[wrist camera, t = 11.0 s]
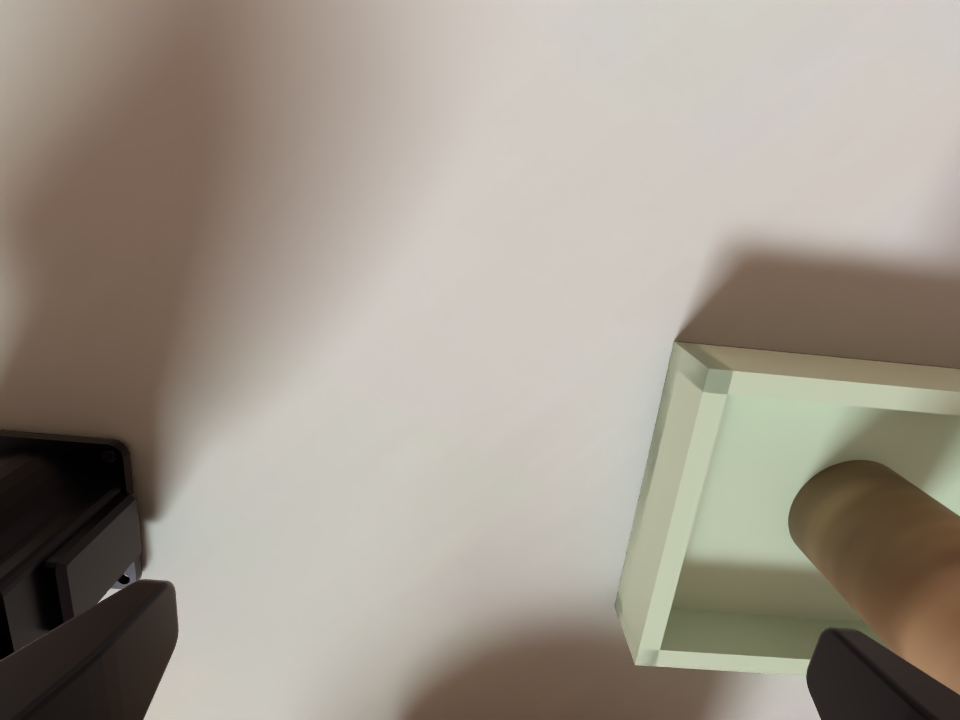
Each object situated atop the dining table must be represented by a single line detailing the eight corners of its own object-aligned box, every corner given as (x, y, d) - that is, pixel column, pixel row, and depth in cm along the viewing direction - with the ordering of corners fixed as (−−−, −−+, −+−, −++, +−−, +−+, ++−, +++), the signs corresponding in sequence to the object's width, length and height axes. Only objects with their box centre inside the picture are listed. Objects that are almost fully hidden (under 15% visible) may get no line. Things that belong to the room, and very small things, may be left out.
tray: (614, 606, 24) (635, 665, 21) (674, 341, 20) (708, 368, 17) (921, 627, 24) (982, 686, 22) (1034, 376, 21) (1124, 407, 18)
